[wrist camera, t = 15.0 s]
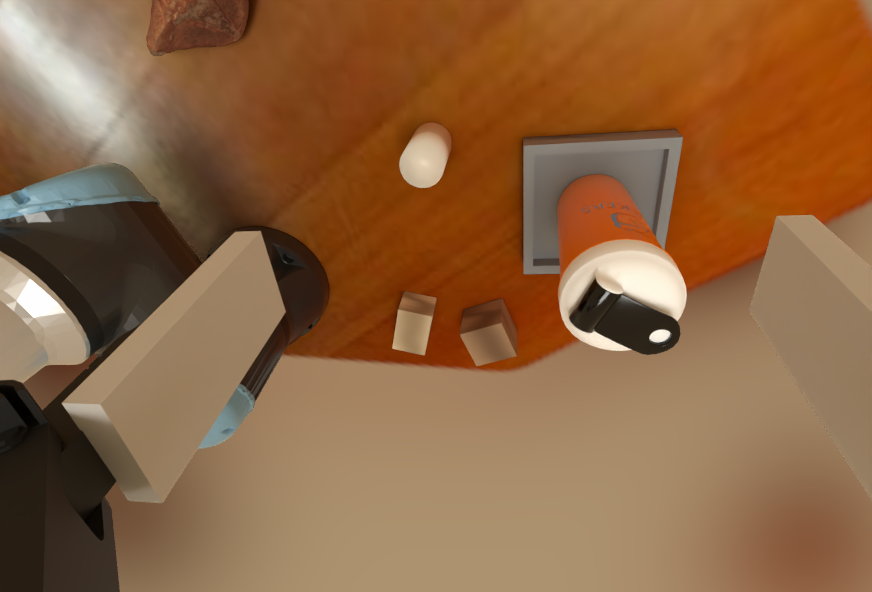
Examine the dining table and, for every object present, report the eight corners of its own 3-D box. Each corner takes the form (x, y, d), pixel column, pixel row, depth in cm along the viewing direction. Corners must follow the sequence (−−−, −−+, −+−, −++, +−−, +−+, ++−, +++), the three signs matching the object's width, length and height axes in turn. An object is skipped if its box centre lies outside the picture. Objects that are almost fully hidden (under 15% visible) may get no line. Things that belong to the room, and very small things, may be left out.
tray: (523, 262, 57) (523, 274, 55) (523, 137, 50) (523, 145, 48) (654, 260, 55) (660, 272, 53) (676, 129, 47) (683, 137, 45)
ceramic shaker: (415, 163, 53) (402, 188, 47) (410, 123, 50) (396, 145, 45) (453, 161, 52) (445, 186, 46) (450, 121, 50) (441, 142, 44)
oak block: (398, 328, 65) (392, 348, 62) (404, 290, 62) (398, 309, 58) (429, 335, 65) (424, 355, 62) (436, 297, 62) (432, 316, 58)
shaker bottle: (617, 255, 54) (660, 386, 38) (536, 234, 54) (544, 357, 38) (655, 177, 49) (725, 289, 33) (565, 153, 49) (590, 255, 33)
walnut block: (479, 339, 64) (476, 366, 60) (463, 309, 62) (459, 334, 58) (516, 329, 63) (516, 356, 59) (502, 297, 60) (501, 322, 56)
